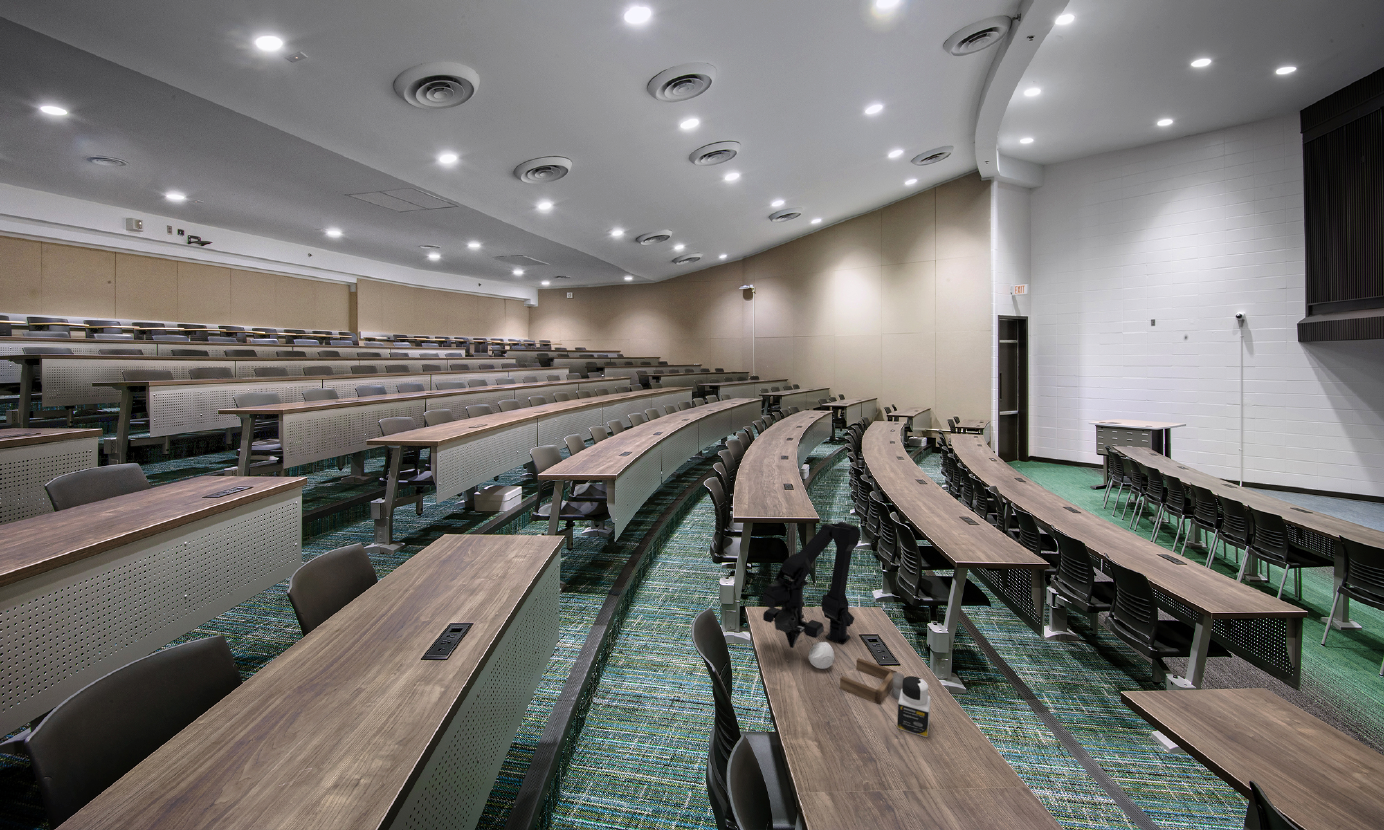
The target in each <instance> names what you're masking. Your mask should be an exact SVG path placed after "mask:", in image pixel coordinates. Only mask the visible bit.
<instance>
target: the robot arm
mask: <svg viewBox="0 0 1384 830" xmlns="http://www.w3.org/2000/svg"><path fill="white" fill-rule="evenodd" d="M860 538H861V530H860V528H859V527H858V526H857V525H855V524H850V523H847V522H844V521H839V522H837V523H831V522H830V523H823V524H822V525H821V527H820V529H819V530H818V532H817V533H815V535H814V536H813V537H812V538H811V539H810V540H809V542H808V543H806V545H805V546H804V547H803V548H802V549H801V550H800V551H799V552H797V553H794V554H792V555H790V556H789V557H787V558H786V559H785V560H784V561H783V563H782V564H781V567H780V569H779V570H778V572H777V574H776V576H775V578H774V581H775V582H776V583H770V584H767V588H766V589H764V591H763V593H762V599H763V602H764V604H765V606H766V607H768V609H766V610H765V611H764V612H763V614H762V620H763V621H764V622H767V623H772V622H774V627H775V630H777V631H781V632H783V633H784V634H785V636H786V639H787V642H788V645H789V648H791V649H793V648H795V646H796V643H797V641H798V639H799V637H800V635H801V634H802V633H804V634H805V636H808V637H810V638H813V639H816V638H818V637H819V636H820V635H822V634H823V633H824V631H825V630H824V629H825V627H824V624H823V623H822V622H820V621H818V620H817V621H816V620H815V619H811V620H810V621H808V622H807V621H806V620H803V619H804V617H805V615H804V613H803V607H804V606H805V602H804V601H803V598H804V587H806V586H808V585H809V582H808V581H807V580H805V579H806V578H807V577H808V575H809V574H810V572H811V569H812V564H814V561H816V559H817V558H818V557H819V556H820V555H821V554H822V552H823V551H824V550H825V549H826V548H827V547H828V546H829V544H830V543H831V542H832V541H833V542H834V544H835V547H836V551H835V557H834V562H833V570H832V576H831V582H830V588H829V590H828V592H827V593H826V594H822V596H821V597H822V598H821V603H820V607H821V612H822V613H823V615H824V618H827V619H828V620H829V632H828V634H827V635H825V639H826V640H828V641H832V642H835V643H837V644H841V645H845V644H846V642H848V640H849V639H850V638H851V635H850V634H848V628H849V627H851V626H852V625H853V624H854V620H855V617H854V616H853V615H852V613H851V612H849V601H848V598H847V595H846V592H847V591H846V590H847V584H848V578H849V571H850V564H851V559H852V552H853V550H855V549H856V547H857V546H858V545H859V541H860ZM785 577H786V578H785ZM788 578H789V579H790V580H789V579H788ZM780 606H781V609H780V608H778V607H780Z"/></svg>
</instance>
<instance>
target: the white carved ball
mask: <svg viewBox="0 0 1384 830" xmlns="http://www.w3.org/2000/svg"><path fill="white" fill-rule="evenodd" d="M808 660H809V662H810V664H811V665H812V666H814V667H815V668H817V669H821V670H825V669H828V668H830V667H831V666H832V664H833V663H834V661H835V652H834V649H833V647H832V646H831V645H830V643H829V642H827V641H821V642H820V641H817V642H815V643H813V646H812V647H811V648H810V650H809V651H808Z"/></svg>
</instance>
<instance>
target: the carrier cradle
mask: <svg viewBox="0 0 1384 830" xmlns="http://www.w3.org/2000/svg"><path fill="white" fill-rule="evenodd" d="M855 664H856V666H855V667H856V670H857V671H859V672H862V673H865V674H868V675H871V676H873V677H876V678H878V679H882V681H881V684H879V686H878V688H875V687H872V686H869V685H867V684H865V683H861V682H859V681H856V680H853V679H851V678H848V677H845V676H843V675H842V676H841V677H840V679H839V689H840V690H842V691H846V693H847V692H848V693H850V694H852V695H855V696H858V697H860V698H862V699H865V700H868V701H871V702H872V703H875V704H878V705H882V703H883V701H884V700H885V698H886V697H887V695H889V693H890V692H891V696H892V698H894V699H897V700H899V697H900V693H901V689H902V685H903V679H904V678H905V675H904V674H903V673H901V672H897V670H894V669H891V668H888V667H885V666H882V665H880V664H877V663H874V662H872V661H868V660H865V659H863V658H860V657H858V658H857V659H856V663H855Z"/></svg>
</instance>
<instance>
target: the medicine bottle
mask: <svg viewBox="0 0 1384 830" xmlns="http://www.w3.org/2000/svg"><path fill="white" fill-rule="evenodd" d="M931 701H932V699H931V695H929V684H928V683H927V682H926V680H924V679H923V678H922V677H917V676H915V675H913V676H912V675H909V676H904V679H903V685H902V689H901V693H900V697H899V699H898V703H897V718H896V719H897V722H896V727H897V729H898V730H901V731H903V732H904V731H905V732H907V733H910V734H914V735H916V736H917V735H918V736H921V737H923V738H928V736H929V728H930V721H931V720H930V716H931Z"/></svg>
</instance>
